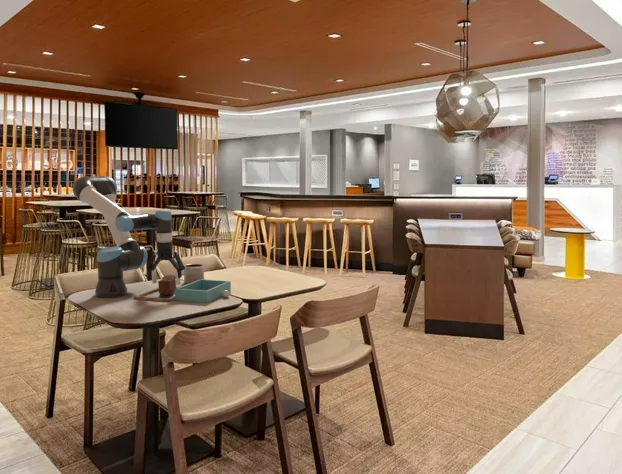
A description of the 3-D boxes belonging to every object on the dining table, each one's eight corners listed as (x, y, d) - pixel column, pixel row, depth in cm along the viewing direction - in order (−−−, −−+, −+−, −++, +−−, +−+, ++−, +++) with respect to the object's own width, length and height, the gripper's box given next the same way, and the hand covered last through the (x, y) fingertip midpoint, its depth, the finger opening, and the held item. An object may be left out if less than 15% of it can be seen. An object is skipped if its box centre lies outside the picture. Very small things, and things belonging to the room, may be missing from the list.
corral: (133, 298, 255) (133, 296, 254) (163, 288, 279) (162, 286, 279) (169, 301, 249) (169, 299, 249) (195, 290, 273) (195, 288, 273)
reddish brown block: (171, 298, 256) (170, 280, 255) (157, 298, 255) (157, 280, 254) (176, 290, 274) (176, 273, 273) (163, 290, 273) (163, 273, 272)
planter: (194, 279, 302) (194, 263, 301) (208, 282, 296) (207, 265, 295) (180, 282, 294) (179, 265, 293) (193, 285, 287) (193, 267, 286)
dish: (175, 300, 253) (174, 288, 252) (200, 289, 277) (200, 279, 276) (207, 302, 248) (207, 291, 247) (230, 291, 272) (230, 281, 271)
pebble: (220, 297, 258) (220, 290, 257) (224, 296, 261) (224, 289, 261) (227, 298, 257) (227, 291, 256) (230, 296, 260) (230, 289, 260)
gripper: (138, 241, 261) (140, 283, 263) (183, 242, 254) (184, 286, 256) (147, 240, 268) (148, 281, 270) (190, 241, 261) (192, 283, 263)
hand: (166, 283), depth 263 cm, fingers open, 13 cm apart
